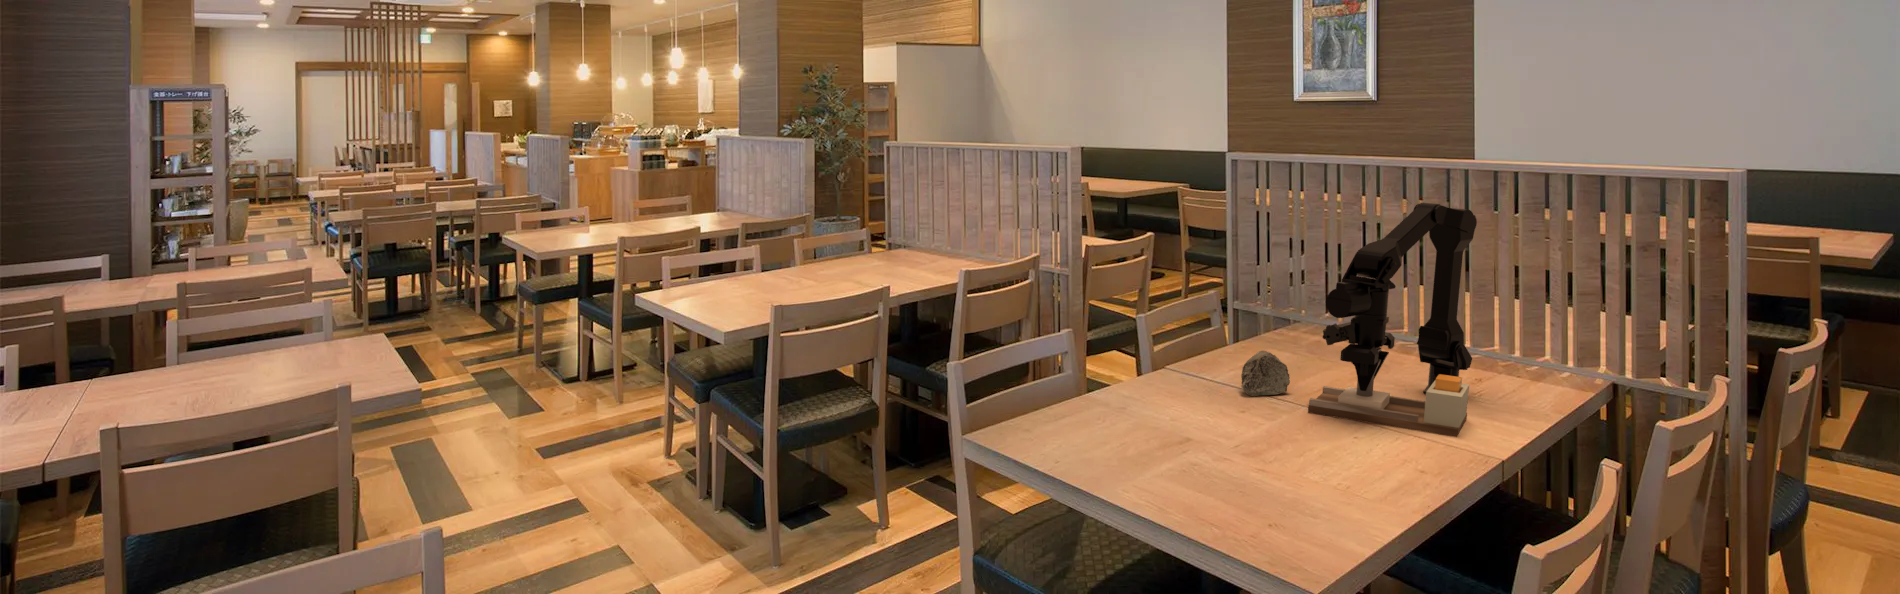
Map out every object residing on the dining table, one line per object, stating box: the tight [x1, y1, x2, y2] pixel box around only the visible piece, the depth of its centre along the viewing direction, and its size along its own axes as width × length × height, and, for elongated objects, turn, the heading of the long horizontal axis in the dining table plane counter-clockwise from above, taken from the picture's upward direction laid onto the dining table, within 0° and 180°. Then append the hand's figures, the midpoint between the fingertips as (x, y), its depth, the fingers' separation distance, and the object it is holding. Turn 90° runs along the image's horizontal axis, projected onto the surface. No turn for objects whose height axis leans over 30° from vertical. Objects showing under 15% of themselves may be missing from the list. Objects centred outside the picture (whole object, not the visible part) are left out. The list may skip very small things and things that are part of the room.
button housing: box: [1424, 380, 1470, 428], centre depth 186 cm, size 10×6×6 cm, turn 145°
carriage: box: [1338, 376, 1391, 409], centre depth 195 cm, size 8×8×8 cm
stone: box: [1240, 350, 1291, 397], centre depth 210 cm, size 10×10×10 cm
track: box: [1307, 385, 1468, 438], centre depth 193 cm, size 12×27×3 cm, turn 55°
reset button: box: [1435, 374, 1463, 393], centre depth 186 cm, size 4×4×5 cm
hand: (1365, 388), depth 195 cm, fingers closed on carriage, 3 cm apart
